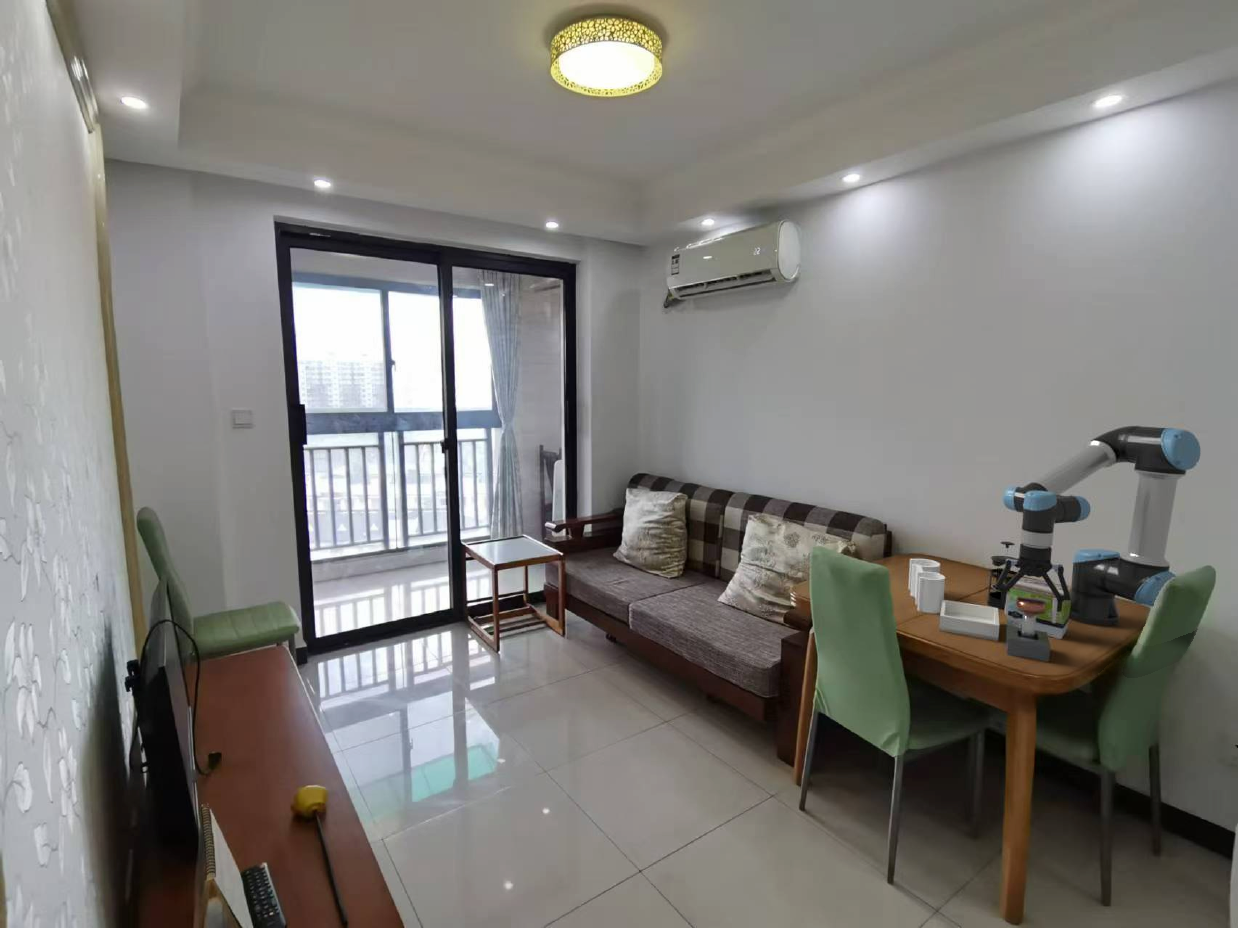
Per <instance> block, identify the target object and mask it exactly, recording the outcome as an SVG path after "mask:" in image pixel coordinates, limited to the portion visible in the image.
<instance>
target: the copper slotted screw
mask: <svg viewBox="0 0 1238 928" xmlns="http://www.w3.org/2000/svg"><path fill="white" fill-rule="evenodd" d="M1045 605H1046V603H1045V601H1043V600H1039V599H1036V598H1031V597H1018V598H1017V600H1016V608H1017V609H1018V610H1020V611H1023V621H1022V632H1021V637H1023V638H1029V639H1034V635H1035V625H1036V614H1043V613H1045Z"/></svg>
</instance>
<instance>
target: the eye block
mask: <svg viewBox="0 0 1238 928" xmlns="http://www.w3.org/2000/svg"><path fill="white" fill-rule="evenodd" d="M1021 632H1022V628H1017V627H1012V626H1007V625H1006V634H1005V649H1006V650H1005V651H1006V654H1007V655H1009V656H1015V657H1019V658H1025V659H1031V660H1034V661H1035V660H1037V661H1040V662H1046V663H1049V661H1050V653H1051V643H1050V639H1049V636H1048V635H1047V632H1041V631H1035V635H1034V639H1029V638H1023V637H1021Z"/></svg>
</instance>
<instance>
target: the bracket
mask: <svg viewBox="0 0 1238 928" xmlns="http://www.w3.org/2000/svg"><path fill="white" fill-rule="evenodd" d="M908 572H909V573H908V590H909V591H910V596H911V597H913V598H915V602H914V603H915V606H917V608H916V609H917V611H918V612H922V613H926V614H927V613H928V614H941V607H942V601H943V600H945V585H946V582H945V581H946V577H945V575H943V574H941V573H940V572H941V563H940V562H938V561H936V560H933V559H927V558H910V559H909V571H908Z"/></svg>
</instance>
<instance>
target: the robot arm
mask: <svg viewBox="0 0 1238 928" xmlns="http://www.w3.org/2000/svg"><path fill="white" fill-rule="evenodd" d="M1200 457H1201V446H1200V442H1199V439H1198V438H1197V437H1196V435H1195V434H1194V433H1192V432H1191V431H1188V430H1186V429H1180V428H1173V427H1156V426H1155V427H1154V426H1141V425H1129V426H1123V427H1119V428H1116V429H1113V430H1110V431H1109V430H1108V431H1107V432H1105V433H1102V434H1100V435H1098V436H1096V437H1095V438H1092V439H1091V440H1089V441H1088V442H1086V444H1085V445H1084V446H1083V449H1082V450H1080V451H1079V452H1077V453H1075V454H1073V455H1072V456H1070V457H1069V458H1067V459H1066V460H1064V461H1062V462H1061V463H1060V464H1058V465H1055V467H1053V468H1052V469H1050V470H1048V471H1046V472H1045V473H1043V474H1042V475H1040V476H1038V478H1035V479H1034V480H1032V481H1031V482H1030V483H1028V484H1026V485H1025V486H1023V487H1021V486H1011V487H1007V489H1006V490H1005V491H1004V494H1003V496H1002V501H1003V505H1004V507H1006V509H1008V510H1012V511H1014V512H1017V513H1021V514H1022V523H1021V530H1020V531H1021V534H1020V545H1019V554H1018V558H1017V559H1018V560H1011V559H1010V558H1007V559H1006V566H1005V565H1004V567H1003V571H1002V573H1001V575H1000V577H999V579H998V581H997V583H996V582H995V583H994V584H995V589H996V590H999V591H1001V592H1002V595H1001V602H1002V603H1005V610H1004V616H1006V617H1007V616H1008V608H1009V597H1010V593H1009V592H1008V591H1009V590H1010V589H1011V588H1012V587H1013V586H1014V585H1015V584H1016V583H1017V582H1018V581H1019V580H1020V579H1021V578H1022V577H1024V576H1026V577H1035V578H1041V577H1042V578H1043V580H1044V582H1046V583H1047V584H1048V586H1049V587H1050V589H1051V590H1052V592H1053V594H1054V595H1055V597H1056V598H1057V599H1056V598H1053V607H1052V617H1051V620H1052V623H1056V613H1057V611H1058V612H1061V610H1062V602H1063V601H1064V600H1071V605H1070V613H1069V619H1071V620H1073V621H1076V622H1080V623H1083V624H1088V625H1093V626H1098V627H1099V626H1101V627H1114V626H1118V625H1119V624H1120V619H1121V615H1120V611H1119V609H1118V604H1117V602H1116V596H1117V597H1120V598H1122V599H1126V600H1127V601H1131V602H1135V603H1136V604H1139V605H1145V606H1148V607H1153V606H1154V602H1155V600H1156V597H1157V596H1158V594H1159V591H1160V590H1161V588H1162V587H1163V586H1164V584H1165V583H1166V582H1167V581H1168V580H1170V579H1171V578H1172V577H1177V575H1176V574H1175V573H1173V572H1171V571H1170V567H1171V564H1170V562H1168V560H1167V559H1166V558H1165V557H1166V556H1165V554H1166V549H1167V544H1168V538H1169V533H1170V532H1169V531H1170V527H1171V520H1172V514H1173V508H1174V504H1175V503H1174V502H1175V497H1176V492H1177V491H1176V490H1177V485H1178V480H1179V479H1181V478H1183V477H1185V476H1186V474H1187V471H1188V470H1191V469H1193V468H1195V467H1196V466H1197V463H1198V462H1199V460H1200ZM1120 463H1129V464H1134V472H1135V473H1136V474H1137V475H1138V476H1139V478H1138V485H1137V490H1136V497H1135V503H1134V510H1133V516H1132V520H1131V528H1130V534H1129V541H1128V544H1127V545H1128V546H1127V550H1126V552H1124V553H1122V554H1120V552H1118V551H1115V550H1111V549H1100V548H1099V549H1098V548H1085V549H1080V550H1077V551H1076V552H1075V553H1074V558H1073V561H1072V573H1071V584H1070V585H1071V586H1070V587H1072V596H1071V597H1070V594H1069V591H1068V588H1067V587H1068V585H1067V583H1066V579H1065V577H1064V570H1065V567H1064V566H1063V564H1061V563H1059V564H1053V563H1052V551H1053V548H1052V547H1051V546H1053V541H1054V539H1053V538H1054V527H1055V524H1064V523H1066V524H1067V523H1076V522H1082V521H1084V520H1086V519H1087V518H1089V516H1090V514H1091V505H1090V502H1089V500H1087V499H1086V498H1085V497H1083V496H1081V495H1071V494H1070V495H1062V494H1063V493H1065V492H1067V491H1068V490H1069V489H1071V488H1073V487H1075V486H1076V485H1078V484H1079V483H1080V482H1082V481H1083V480H1085V479H1087V478H1089V477H1090V476H1092V475H1093V474H1095V473H1096V472H1098V471H1100V470H1101V469H1102V468H1104V469H1105V468H1110V467H1112V466H1114V465H1115V464H1120ZM1015 564H1017V565H1018V566H1019V568H1018V570H1017V571H1016V572H1017V573H1016V574H1015V575H1012V576H1011V577H1012V578H1011V579H1010V580H1009V581H1008V582H1007V583H1006V585H1005V586H1004V587H1002V584H1004V581H1005V579H1006V577H1008V575H1009V574H1008V573H1009V571H1010V570H1012V568H1014V567H1015V566H1014V565H1015ZM1051 570H1053V571H1054V572H1055V573H1056V574H1057V577H1058V581H1059V583H1060V585H1061V586H1062V590H1063V593H1064V595H1060V593H1059V592H1058V590H1057V588H1056V587H1055V585H1054V584H1055V583H1054V582H1053V580H1052V579H1051V578H1050V576H1049V575H1048V572H1050V571H1051ZM1153 608H1154V607H1153Z"/></svg>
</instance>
